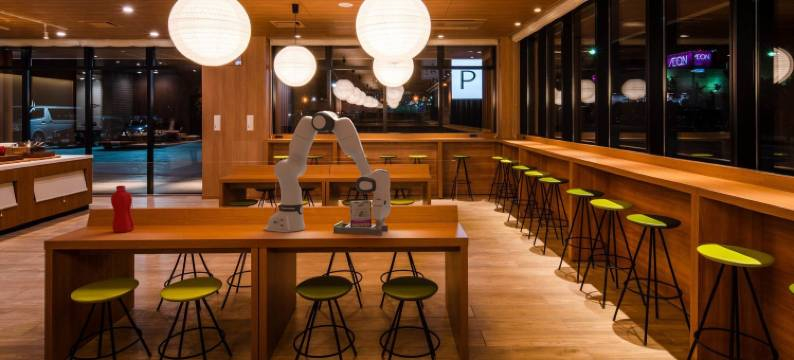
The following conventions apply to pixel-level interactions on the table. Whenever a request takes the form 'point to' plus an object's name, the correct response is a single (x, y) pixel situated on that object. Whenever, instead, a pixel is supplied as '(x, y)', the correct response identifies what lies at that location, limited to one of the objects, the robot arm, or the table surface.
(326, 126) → the robot arm
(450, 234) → the table surface
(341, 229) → the bay
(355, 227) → the crate carriage
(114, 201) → the water bottle
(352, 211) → the candy bar box
